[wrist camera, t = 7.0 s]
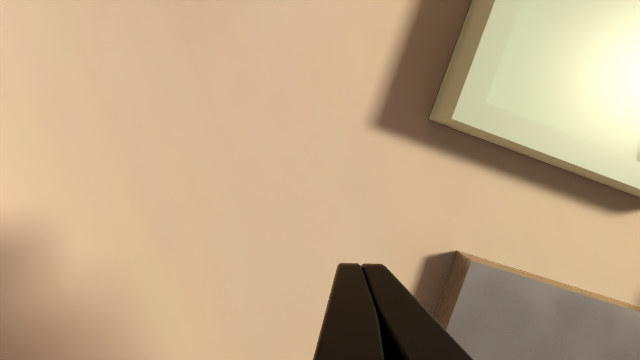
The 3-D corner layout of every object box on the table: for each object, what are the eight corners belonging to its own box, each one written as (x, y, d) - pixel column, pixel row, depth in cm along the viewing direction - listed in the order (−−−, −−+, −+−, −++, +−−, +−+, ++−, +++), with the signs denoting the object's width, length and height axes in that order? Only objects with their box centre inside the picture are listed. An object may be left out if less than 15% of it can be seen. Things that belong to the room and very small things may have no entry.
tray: (664, 206, 22) (715, 217, 19) (428, 119, 20) (451, 118, 17) (768, -48, 21) (836, -72, 18) (531, -163, 19) (571, -206, 16)
